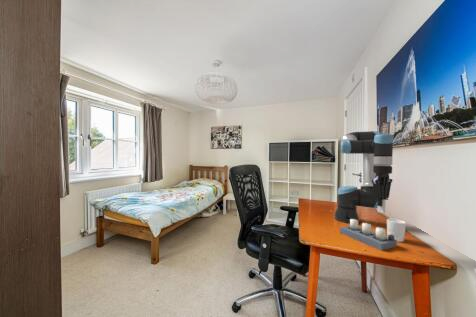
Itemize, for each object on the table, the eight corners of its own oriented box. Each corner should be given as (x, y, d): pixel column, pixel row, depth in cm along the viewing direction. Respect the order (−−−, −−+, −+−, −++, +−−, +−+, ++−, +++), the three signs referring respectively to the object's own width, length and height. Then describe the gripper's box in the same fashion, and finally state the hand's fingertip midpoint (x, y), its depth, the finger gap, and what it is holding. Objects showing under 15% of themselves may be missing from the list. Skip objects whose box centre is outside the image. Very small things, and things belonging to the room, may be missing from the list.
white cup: (405, 239, 102) (406, 221, 102) (404, 244, 97) (405, 224, 97) (387, 235, 108) (387, 217, 108) (385, 239, 102) (385, 220, 102)
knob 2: (378, 236, 98) (378, 227, 98) (387, 239, 94) (387, 229, 94) (373, 237, 97) (374, 228, 96) (382, 241, 93) (382, 230, 93)
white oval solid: (365, 231, 105) (365, 222, 104) (372, 234, 101) (372, 225, 101) (360, 232, 103) (360, 223, 103) (367, 235, 99) (367, 225, 99)
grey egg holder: (354, 230, 114) (354, 219, 114) (396, 246, 94) (396, 233, 94) (340, 232, 110) (340, 222, 110) (381, 250, 89) (381, 237, 89)
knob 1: (352, 227, 111) (353, 218, 111) (359, 229, 107) (359, 220, 107) (348, 227, 109) (348, 219, 109) (354, 230, 106) (355, 221, 106)
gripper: (382, 164, 101) (381, 209, 101) (366, 164, 96) (365, 211, 96) (399, 165, 94) (397, 213, 94) (382, 165, 89) (381, 216, 89)
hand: (381, 212), depth 95 cm, fingers closed
